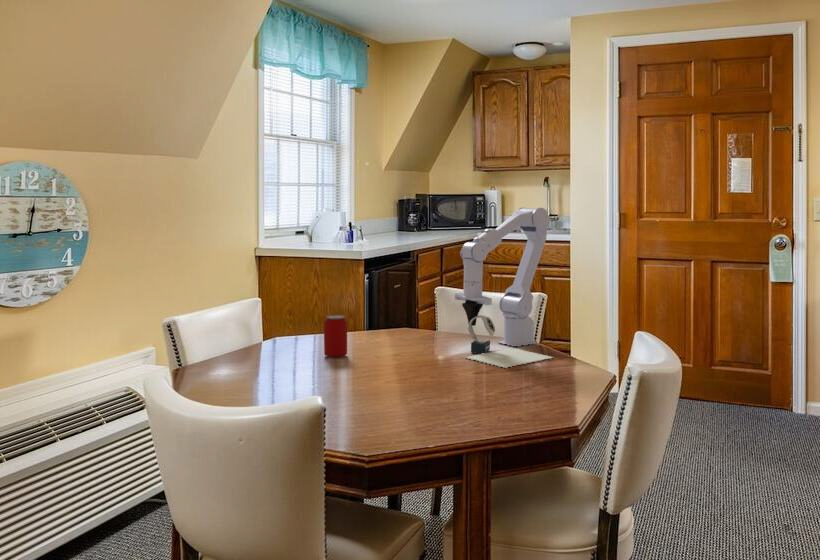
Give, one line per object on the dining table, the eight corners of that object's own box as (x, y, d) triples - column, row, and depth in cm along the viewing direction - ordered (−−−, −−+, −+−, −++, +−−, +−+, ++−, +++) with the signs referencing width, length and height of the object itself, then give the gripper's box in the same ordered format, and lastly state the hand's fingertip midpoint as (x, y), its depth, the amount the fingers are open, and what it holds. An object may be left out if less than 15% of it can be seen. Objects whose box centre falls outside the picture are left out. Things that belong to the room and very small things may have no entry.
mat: (513, 349, 227) (513, 348, 227) (553, 358, 214) (553, 357, 214) (465, 358, 215) (465, 357, 215) (505, 368, 202) (505, 366, 202)
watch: (490, 355, 220) (492, 319, 218) (465, 352, 223) (466, 316, 221) (495, 351, 225) (497, 315, 223) (470, 348, 228) (472, 313, 226)
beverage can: (349, 354, 221) (348, 314, 219) (344, 359, 214) (344, 318, 213) (326, 353, 221) (326, 314, 220) (322, 358, 215) (321, 318, 213)
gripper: (447, 280, 228) (446, 323, 229) (479, 284, 216) (478, 330, 218) (464, 278, 232) (463, 321, 233) (497, 283, 221) (496, 327, 222)
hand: (472, 325), depth 226 cm, fingers closed, pressing on watch
